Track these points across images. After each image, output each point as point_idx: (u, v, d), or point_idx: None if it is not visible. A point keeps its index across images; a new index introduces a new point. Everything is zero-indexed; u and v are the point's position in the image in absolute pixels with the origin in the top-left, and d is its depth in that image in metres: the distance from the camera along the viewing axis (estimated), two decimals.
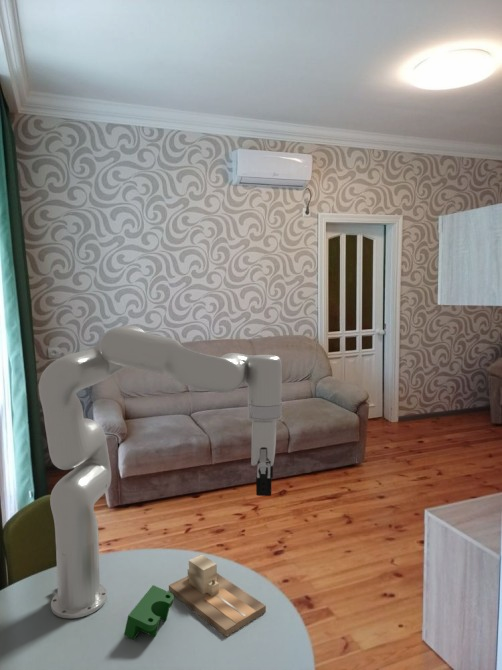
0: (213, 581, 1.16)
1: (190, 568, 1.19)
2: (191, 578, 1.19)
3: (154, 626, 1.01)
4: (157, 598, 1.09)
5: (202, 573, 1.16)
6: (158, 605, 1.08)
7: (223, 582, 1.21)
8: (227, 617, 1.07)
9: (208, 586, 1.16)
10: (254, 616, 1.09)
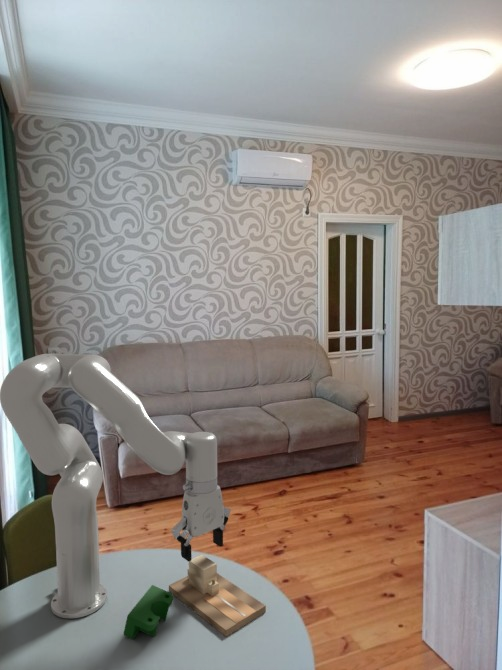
0: (213, 581, 1.16)
1: (190, 568, 1.19)
2: (191, 578, 1.19)
3: (153, 626, 1.01)
4: (157, 598, 1.09)
5: (202, 573, 1.16)
6: (157, 605, 1.08)
7: (223, 582, 1.21)
8: (227, 617, 1.07)
9: (208, 586, 1.16)
10: (254, 616, 1.09)
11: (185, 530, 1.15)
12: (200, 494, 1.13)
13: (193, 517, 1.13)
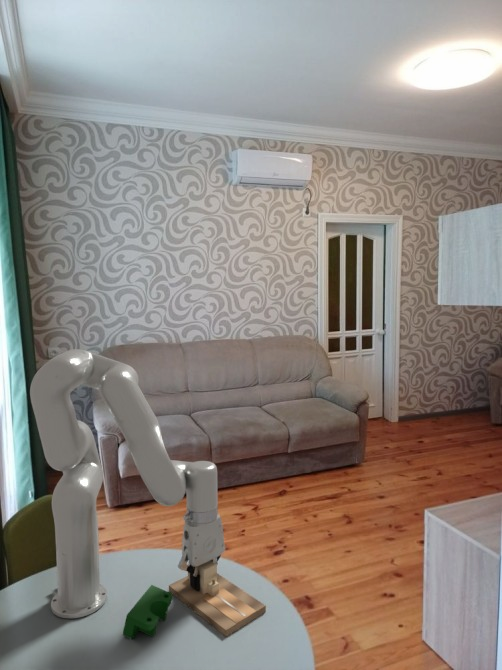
0: (213, 581, 1.16)
1: None
2: None
3: (153, 626, 1.02)
4: (156, 597, 1.09)
5: (202, 573, 1.16)
6: (157, 605, 1.08)
7: (223, 582, 1.21)
8: (227, 617, 1.07)
9: (208, 586, 1.16)
10: (254, 616, 1.09)
11: None
12: (200, 524, 1.14)
13: (193, 547, 1.13)
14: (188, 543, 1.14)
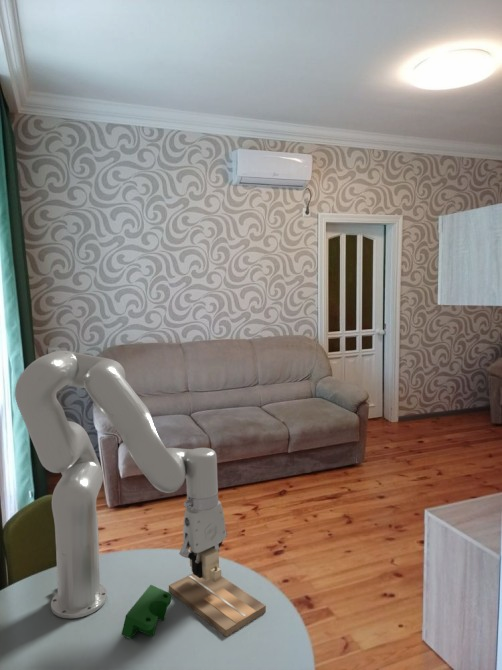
0: (215, 567, 1.15)
1: None
2: None
3: (152, 625, 1.02)
4: (155, 597, 1.09)
5: (204, 560, 1.15)
6: (156, 605, 1.08)
7: (223, 582, 1.21)
8: (227, 617, 1.07)
9: (210, 573, 1.16)
10: (254, 616, 1.09)
11: None
12: (201, 511, 1.14)
13: (194, 534, 1.13)
14: (189, 530, 1.14)
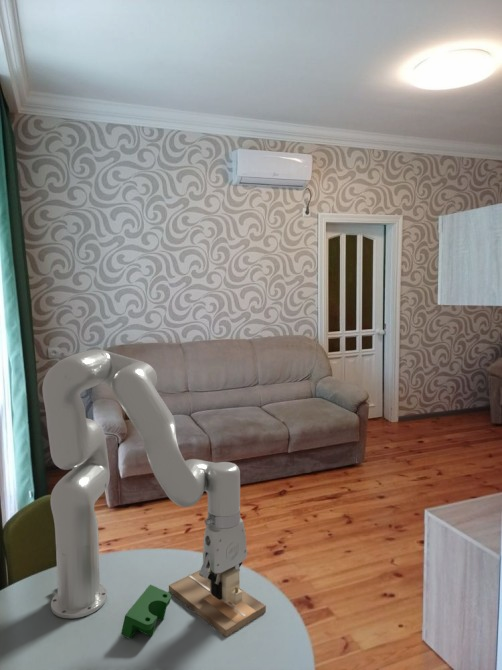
0: (236, 589, 1.09)
1: None
2: None
3: (151, 625, 1.02)
4: (154, 597, 1.09)
5: (224, 581, 1.10)
6: (155, 604, 1.08)
7: None
8: (227, 617, 1.07)
9: (231, 595, 1.10)
10: (254, 616, 1.09)
11: None
12: (223, 529, 1.08)
13: (216, 553, 1.07)
14: (210, 549, 1.08)
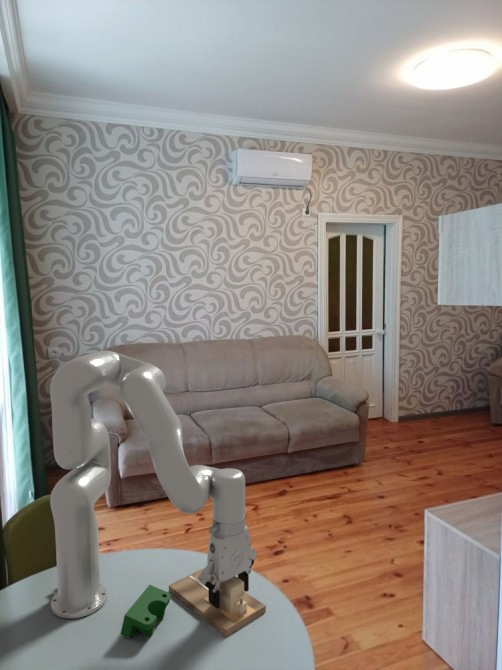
0: (241, 600, 1.08)
1: None
2: None
3: (150, 625, 1.02)
4: (154, 597, 1.09)
5: (229, 592, 1.08)
6: (155, 604, 1.08)
7: None
8: (227, 617, 1.07)
9: (235, 606, 1.09)
10: (254, 616, 1.09)
11: (212, 574, 1.09)
12: (228, 536, 1.07)
13: (220, 561, 1.06)
14: (214, 557, 1.07)
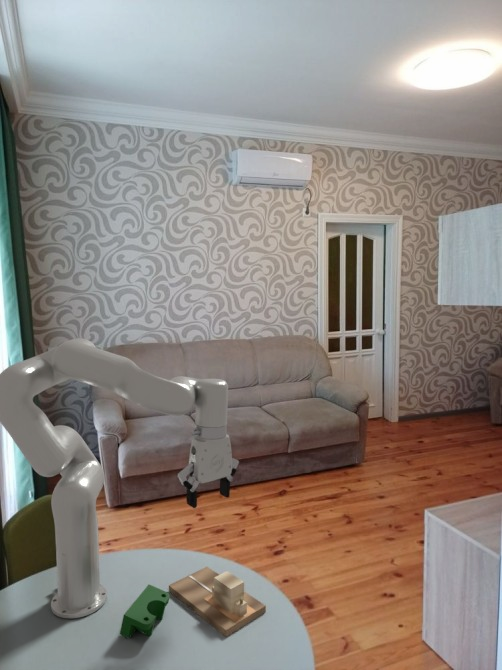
0: (241, 600, 1.08)
1: (215, 586, 1.12)
2: (216, 597, 1.12)
3: (150, 625, 1.02)
4: (153, 597, 1.09)
5: (229, 592, 1.08)
6: (154, 604, 1.08)
7: None
8: (227, 617, 1.07)
9: (235, 606, 1.09)
10: (254, 616, 1.09)
11: (192, 476, 1.13)
12: (209, 440, 1.11)
13: (200, 462, 1.10)
14: (195, 458, 1.11)
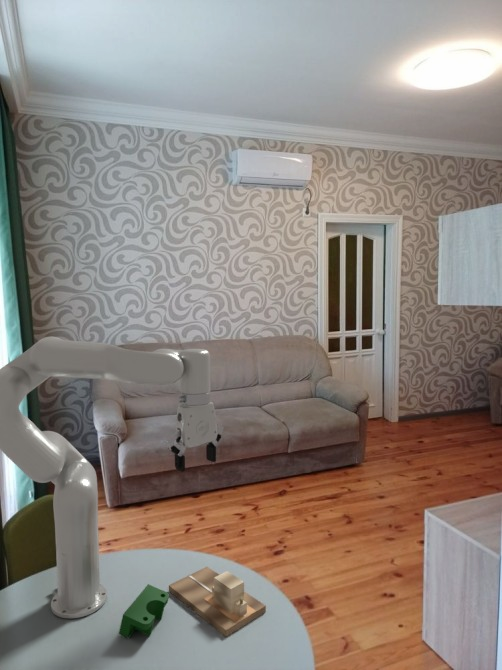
0: (241, 600, 1.08)
1: (215, 586, 1.12)
2: (216, 597, 1.12)
3: (149, 625, 1.02)
4: (152, 597, 1.09)
5: (229, 592, 1.08)
6: (153, 604, 1.08)
7: None
8: (227, 617, 1.07)
9: (235, 606, 1.09)
10: (254, 616, 1.09)
11: (179, 442, 1.19)
12: (193, 406, 1.17)
13: (186, 427, 1.16)
14: (181, 424, 1.17)
